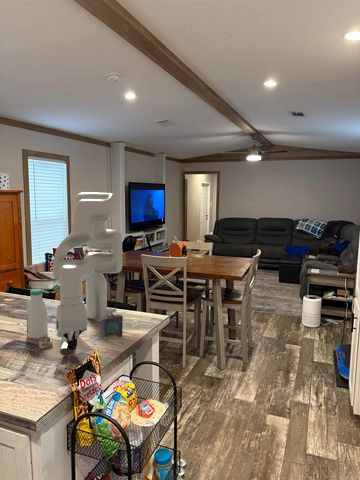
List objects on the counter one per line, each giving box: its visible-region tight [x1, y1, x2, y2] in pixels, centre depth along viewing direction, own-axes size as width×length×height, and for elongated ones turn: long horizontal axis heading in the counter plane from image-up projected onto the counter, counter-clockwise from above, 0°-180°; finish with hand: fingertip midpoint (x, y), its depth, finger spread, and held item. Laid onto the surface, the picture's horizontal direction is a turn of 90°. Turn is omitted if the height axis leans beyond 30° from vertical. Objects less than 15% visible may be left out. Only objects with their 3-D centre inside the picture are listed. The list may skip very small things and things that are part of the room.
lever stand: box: [36, 336, 94, 362], centre depth 133 cm, size 16×15×5 cm
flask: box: [100, 312, 124, 338], centre depth 147 cm, size 9×3×11 cm, turn 121°
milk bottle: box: [26, 288, 49, 339], centre depth 144 cm, size 8×8×20 cm
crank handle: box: [60, 332, 73, 355], centre depth 130 cm, size 13×4×5 cm, turn 9°
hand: (72, 349), depth 128 cm, fingers closed
